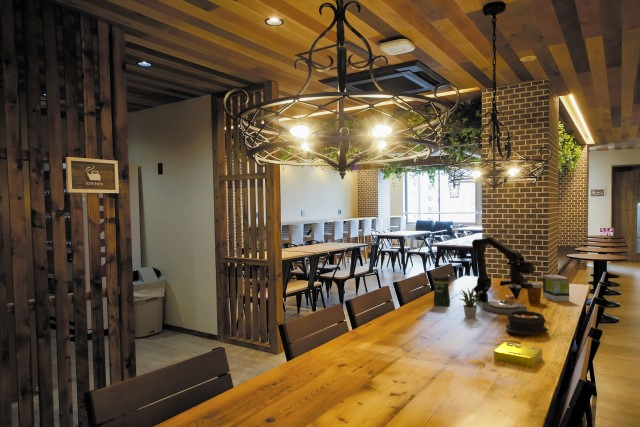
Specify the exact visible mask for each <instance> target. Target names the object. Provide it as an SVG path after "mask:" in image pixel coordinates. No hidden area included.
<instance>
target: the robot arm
mask: <svg viewBox="0 0 640 427" xmlns="http://www.w3.org/2000/svg"><path fill="white" fill-rule="evenodd" d="M471 245H472V249H473V251H474V253H475V254H476V256H475V257H476V262H477V263H476V265H477V273H478V276H477V280H476V285H475V286H474V287H472V289H473V290H474V291H473V292H474V293H475V295H476V294H477V293H478V292H480V291H482V292H483V293H479V294H480V295H479V294H478V295H477V296H476V298H475V299H477V298H478V300H480V301H479V302H480V303H487V302H488V301H489V294H488V292H489V291H490V288H491V287H492V285H493V284H492V277H489V276H488V274H487V267H486V258H485V252H486V249H487V248H486V247H487V246H488V245H490V246H491V247H493V248H494V249H496V250H497V251H499V252H500V253H501V254H503V255H504V257H505V258H506V259H507V260H508V261H507V263H506V265H507V266H509V271H510V274H508V277H510V280H501V281H500V282H499V286H501V287H504V286H507V288H508V289H509V290H510V291H511V293H512V295H514V297H515V299H516V300H518V299H519V296H520V293H521V291H522V290H523V289H524V290H527V289H530V288H533V284H532V283H527V282H528V280H529V279H528V278H527V277H524V275H523V274H527V275H528V274H529V275H533V274H534V272H535V265H534V264H533V262H532V261H526V260H525V258H524V257H523V256H522V253H521V252H520V251H518V250H516V249H513V248H510V247H508V246H506V245H505V244H503V242H500V241H499V240H497V239H496V238H494V237H493V236H489V237H485V238H477V239H473V241H472V242H471ZM486 301H487V302H486ZM479 302H478V303H479Z"/></svg>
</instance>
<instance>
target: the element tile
mask: <svg viewBox="0 0 640 427" xmlns="http://www.w3.org/2000/svg"><path fill="white" fill-rule="evenodd" d="M493 360H495V362H497V361H499V362H498V363H501V362H503V363H502V364H506V363H508V364H507V365H511V364H512V366H516V365H517V366H516V367H521V366H523V367H522V368H525V367H528V368H527V369H535V368H536V367H537V366H538V365H537V364H540V363H541V361H543V349H542V348H541V347H537V346H532V345H526V344H520V343H515V342H508V341H505V342H502V343H501V344H500V345H498V346H497V347H496V348H494V350H493ZM536 365H537V366H536ZM535 366H536V367H535ZM534 367H535V368H534Z"/></svg>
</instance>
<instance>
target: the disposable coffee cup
mask: <svg viewBox="0 0 640 427" xmlns="http://www.w3.org/2000/svg"><path fill="white" fill-rule="evenodd" d="M527 283H532V284H533V288H530V289H526V292H527V299H528V303H529V304H530V303H531V304H540V303H541V296H542V291H543V282H542V283H541V282H539V281H538V282H537V281H536V282H535V281H529V282H527Z"/></svg>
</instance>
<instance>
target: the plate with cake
mask: <svg viewBox="0 0 640 427" xmlns="http://www.w3.org/2000/svg"><path fill="white" fill-rule="evenodd" d="M516 301H517V299H515V297H514V295H513V294H508V296H506V300H505V299H496V300H495V299H494V300H489V305H490V306H492V307H495V308H503V309H514V308H518V307H519V304H520V303H519V302H516Z"/></svg>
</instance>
